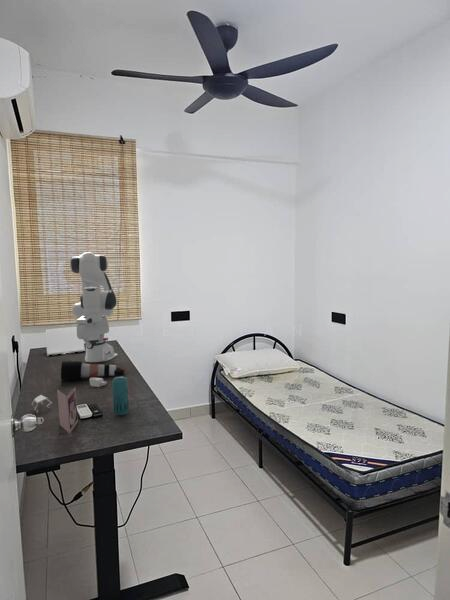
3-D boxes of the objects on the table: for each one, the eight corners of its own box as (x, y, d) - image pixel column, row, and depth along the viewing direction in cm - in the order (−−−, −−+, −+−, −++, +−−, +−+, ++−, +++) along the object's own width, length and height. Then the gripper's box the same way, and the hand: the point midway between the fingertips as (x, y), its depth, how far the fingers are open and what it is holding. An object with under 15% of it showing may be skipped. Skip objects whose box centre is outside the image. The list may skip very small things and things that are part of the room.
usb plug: (88, 385, 212) (88, 379, 212) (93, 383, 216) (92, 377, 215) (103, 387, 208) (102, 381, 208) (107, 385, 212) (107, 378, 211)
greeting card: (71, 433, 155) (69, 396, 153) (52, 434, 155) (49, 397, 153) (80, 421, 166) (77, 386, 165) (61, 422, 166) (58, 387, 164)
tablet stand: (47, 351, 294) (45, 328, 292) (83, 347, 304) (81, 325, 302) (47, 357, 277) (45, 333, 275) (85, 352, 287) (83, 329, 285)
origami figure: (54, 409, 180) (53, 399, 180) (33, 414, 176) (32, 403, 175) (49, 402, 190) (48, 392, 190) (30, 406, 186) (29, 395, 185)
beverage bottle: (115, 419, 167) (112, 373, 165) (112, 414, 173) (109, 368, 171) (130, 416, 170) (128, 370, 167) (128, 411, 176) (125, 366, 174)
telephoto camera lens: (124, 382, 230) (126, 369, 225) (61, 383, 220) (60, 369, 215) (124, 370, 238) (125, 357, 233) (63, 371, 228) (62, 357, 223)
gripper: (101, 315, 219) (103, 340, 220) (73, 320, 201) (75, 348, 202) (111, 315, 216) (112, 340, 218) (83, 321, 198) (85, 348, 199)
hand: (94, 344), depth 210 cm, fingers open, 8 cm apart
